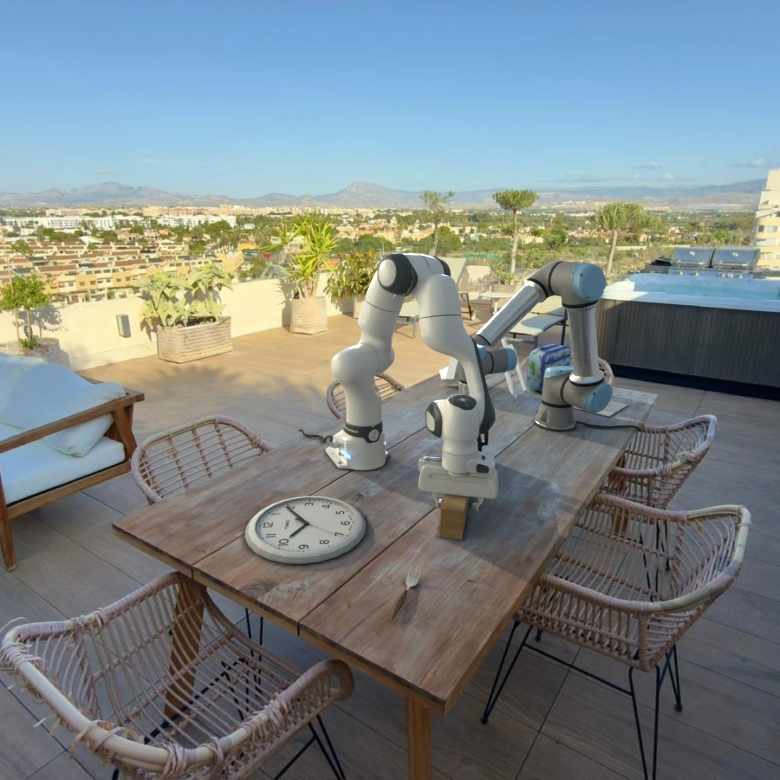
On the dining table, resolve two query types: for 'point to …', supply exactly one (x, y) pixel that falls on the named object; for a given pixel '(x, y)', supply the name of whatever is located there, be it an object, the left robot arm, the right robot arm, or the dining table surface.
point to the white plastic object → (453, 371)
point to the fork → (410, 583)
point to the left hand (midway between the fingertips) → (457, 508)
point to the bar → (453, 516)
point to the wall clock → (305, 530)
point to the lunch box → (545, 363)
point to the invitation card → (610, 408)
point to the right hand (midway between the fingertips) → (466, 462)
